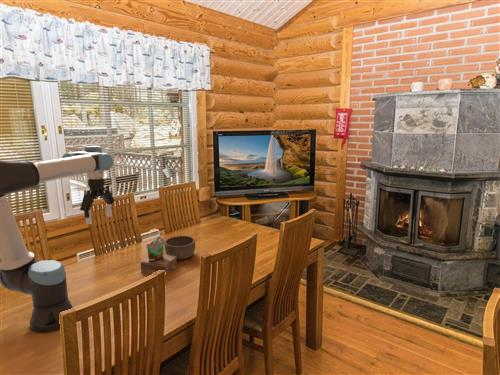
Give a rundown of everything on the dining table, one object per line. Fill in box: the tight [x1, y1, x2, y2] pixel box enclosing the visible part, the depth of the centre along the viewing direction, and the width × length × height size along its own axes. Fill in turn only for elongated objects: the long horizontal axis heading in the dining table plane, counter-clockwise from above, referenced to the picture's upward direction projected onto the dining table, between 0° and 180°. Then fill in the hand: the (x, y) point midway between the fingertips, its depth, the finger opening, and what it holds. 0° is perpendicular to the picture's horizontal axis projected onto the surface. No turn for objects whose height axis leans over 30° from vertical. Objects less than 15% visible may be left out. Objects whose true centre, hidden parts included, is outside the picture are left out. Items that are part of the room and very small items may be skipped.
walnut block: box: [140, 254, 178, 276], centre depth 176 cm, size 12×14×6 cm
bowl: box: [164, 235, 196, 261], centre depth 193 cm, size 17×18×10 cm
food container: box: [146, 236, 165, 262], centre depth 175 cm, size 12×6×10 cm, turn 168°
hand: (99, 220), depth 166 cm, fingers open, 13 cm apart
